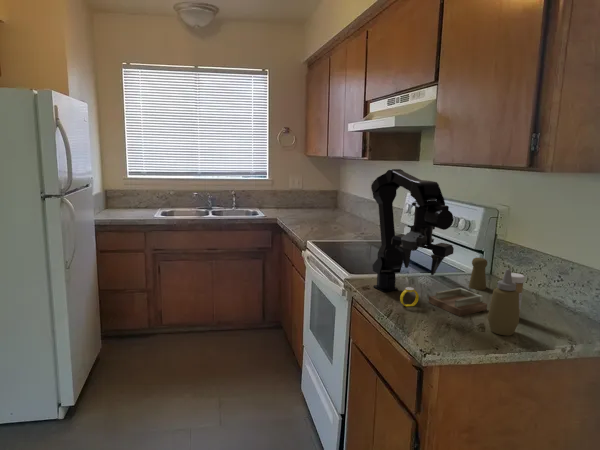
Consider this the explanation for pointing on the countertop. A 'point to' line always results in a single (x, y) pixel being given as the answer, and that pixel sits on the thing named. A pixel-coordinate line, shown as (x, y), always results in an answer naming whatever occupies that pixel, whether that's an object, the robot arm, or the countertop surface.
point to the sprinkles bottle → (518, 285)
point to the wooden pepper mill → (478, 274)
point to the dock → (458, 301)
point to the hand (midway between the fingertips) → (419, 271)
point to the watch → (408, 289)
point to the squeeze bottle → (504, 307)
